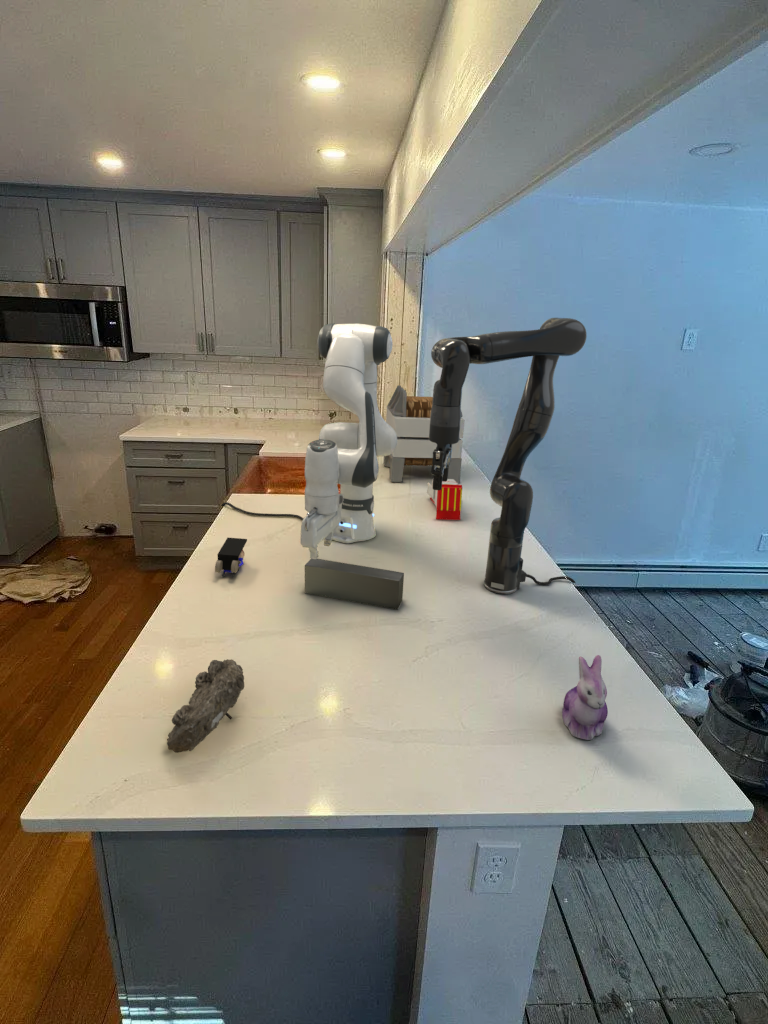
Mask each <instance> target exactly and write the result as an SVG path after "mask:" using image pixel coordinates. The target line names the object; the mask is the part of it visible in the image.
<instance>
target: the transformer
mask: <svg viewBox="0 0 768 1024" xmlns="http://www.w3.org/2000/svg"><path fill="white" fill-rule="evenodd" d="M407 394H408V393H407V390H406V389H404V388H403V387H402V385H399V384H398V385H397V386H396V388H395V390H394V392H393V394H392V395H391V398H390V400H389V402H388V404H387V405H386V413H385V414H386V415H385V422H386V423H387V424H388V425H390V426H391V427H392V428H393V429H394V431H395V432H396V435H397V446H396V448H395V450H394V452H393V453H392V454H391V455H387V456H383V466H384V467H388V468H389V475H388V476H389V477H388V478H389V480H390V482H391V483H402V482H403V475H404V469H405V466H406V467H407V466H411V467H412V466H413V467H415V466H416V467H417V466H418V467H431V466H432V461H433V451H434V449H436V447H437V444H436V443H433V442H431V441H430V440H429V430H430V415H431V409H432V404H433V403H432V401H433V396H415V395H414V396H413V395H412V396H411V395H407ZM464 429H465V419H464V418H463V411H461V422H460V433H459V441H458V443H456V444H452V454H451V463H450V466H449V467H448V479H454V480H455V481H456V482H457V483H458V484H459V483H461V472H462V461H463V460H462V453H463V442H464V441H463V440H462V439H463V438H464V431H465V430H464ZM436 469H437V470H440V468H438V467H437V468H436Z"/></svg>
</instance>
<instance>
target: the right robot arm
mask: <svg viewBox="0 0 768 1024" xmlns="http://www.w3.org/2000/svg"><path fill="white" fill-rule="evenodd" d="M587 334H588V333H587V329H586V326H585V325H584V324H583V323H582V322H581V321H580V320H578V319H575V318H571V317H550V318H547V320H545V321H544V322H543V323H542V324H541V326H540V328H539V329H538V328H537V329H529V330H507V331H497V332H496V331H495V332H490V333H482V334H478V335H473V336H472V335H471V336H454V337H453V336H452V337H445V338H441V339H439V340H438V341H437V342H435V343H434V345H433V346H432V349H431V352H430V356H431V360H432V362H433V363H434V364H435V365H436V366H437V367H439V368H441V373H440V378H439V379H438V380H436V381H435V382H434V385H433V390H432V397H433V401H432V403H433V404H432V409H431V415H430V430H429V440H430V441H431V442H433V443H436V444H437V447H436V449H434V451H433V461H432V465H431V471H430V473H431V476H433V478H432V479H433V490H441V489H442V481H445V482H446V481H447V480H448V467H449V466H450V463H451V454H452V444H456V443H458V441H459V433H460V422H461V418H462V417H461V412H462V396H463V387H464V384H465V381H466V378H467V375H468V372H469V368H470V365H472V364H473V365H487V364H494V363H500V362H505V361H511V360H516V359H517V360H518V359H522V358H528V357H531V358H532V359H531V363H530V368H529V371H528V373H527V374H528V375H527V378H526V381H525V385H524V389H523V392H522V395H521V398H520V401H519V404H518V407H517V410H516V413H515V416H514V420H513V423H512V427H511V431H510V434H509V437H508V440H507V442H506V446H505V448H504V452H503V454H502V456H501V460H500V462H499V463H498V466H497V469H496V471H495V473H494V476H493V478H492V481H491V483H490V487H489V495H490V498H491V500H492V502H494V503H495V504H496V505H498V506H500V507H501V511H500V516H499V517H496V518H494V519H493V520H491V524H490V532H489V539H488V550H487V556H486V557H487V558H486V566H485V567H486V568H485V574H484V580H483V587H484V588H485V589H486V590H487V591H489V592H492V593H495V594H500V595H510V594H513V593H515V592H516V591H518V590H520V587H521V583H526V579H527V578H528V579H530V580H532V581H533V582H534V584H536V585H539V586H549V585H551V583H552V582H553V581H559V580H567V581H569V582H571V583H572V584H576V581H575V579H574V578H572V577H570V576H565V575H563V576H561V575H560V576H553V577H550V578H549V579H548V581H539V580H537V578H536V577H534V576H533V575H531V574H528V573H527V572H526V571H524V570H523V567H524V566H523V565H524V559H523V558H522V551H523V544H524V543H523V542H524V537H525V536H524V535H525V531H526V528H527V527H528V525H529V522H530V517H531V512H532V507H533V500H534V490H533V487H532V485H531V483H529V482H528V481H527V480H524V479H523V478H521V476H522V472H523V469H524V466H525V463H526V461H527V459H528V458H529V456H530V455H531V453H532V452H533V451H534V450H535V449H536V448H537V447H538V446H539V445H540V443H541V442H542V441H543V440H544V439H545V437H546V436H547V434H548V431H549V429H550V426H551V422H552V419H553V416H554V413H555V408H556V407H555V406H556V401H555V400H556V399H555V390H554V389H555V388H554V375H555V370H556V368H557V364H558V361H559V359H560V357H570V356H573V355H576V354H577V353H579V352H580V351H581V350H582V349H583V348H584V347H585V345H586V341H587V337H588V335H587ZM437 467H438V468H440V470H439V469H438V468H437ZM565 577H566V578H567V579H566V578H565Z"/></svg>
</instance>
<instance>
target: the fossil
mask: <svg viewBox="0 0 768 1024" xmlns="http://www.w3.org/2000/svg"><path fill="white" fill-rule="evenodd" d="M243 670H244V669H243V667H242V665H240V664H237V662H236V661H235V660H234V659H232V658H231V659H227V658H226V659H224V660H223V661H222V660H217V659H212V660H211V661H210V663H209V665H208V666H207V671H201V672H199V673H198V674H197V675H196V676H195V680H194V684H195V685H194V687H195V689H194V690H193V693H192V694H191V697H190V698H189V700H188V704H184V705H182V706H181V707H180V709H177V710H176V711H175V713H174V715H173V716H172V718H171V723H172V724H173V727H172V730H171V731H170V732H168V734H167V738H166V741H167V742H166V745H167V749H168V750H169V751H173V752H174V753H176V754H178V753H182V752H188V751H189V752H192V751H193V750H195V748H196V747H197V746H199V744H200V743H201V742H203V741H204V740H205V739H206V738H207V737H208V736H209V735H210V734H211V733H212V732H214V730H215V729H217V727H218V726H219V724H220V722H221V721H222V720H223V719H224V718H225V716H226V717H227V719H229V720H233V717H232V715H230V714H229V710H230V709H231V708H234V706H235V704H236V703H237V702H238V699H239V697H240V695H241V693H242V691H243V690H245V689H244V688H245V675H244V671H243Z"/></svg>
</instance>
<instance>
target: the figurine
mask: <svg viewBox="0 0 768 1024" xmlns="http://www.w3.org/2000/svg"><path fill="white" fill-rule="evenodd" d="M602 663H603V660H602V656H601V655H600V654H597V655H595V657H594V658H593V660H592V663H591V664H590V665H589V664H588V662H587V660H586V659H585V658H584V657H583V656H578V674H579V680H578V682H577V685H576V686H574V687H572V688H571V689H569V690H568V691H567V692H566V693H565V696H564V699H563V703H562V704H563V706H562V710H561V714H562V715H561V716H562V721H563V724H564V725H565V727H566V728H567V729H568V730H569V732H570V734H571V735H572V736H573V737H574V738H577V739H581V740H584V741H585V740H587V741H589V740H590V741H591V740H593V739H594V737H599V736H600V735H601V734H602V732H603V729H604V726H605V725H604V724H605V722H606V721H607V718H608V714H609V711H608V710H609V709H608V705H607V701H606V700H607V696H608V690H607V686H606V683H605V680H604V679H603V677H602Z"/></svg>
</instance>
